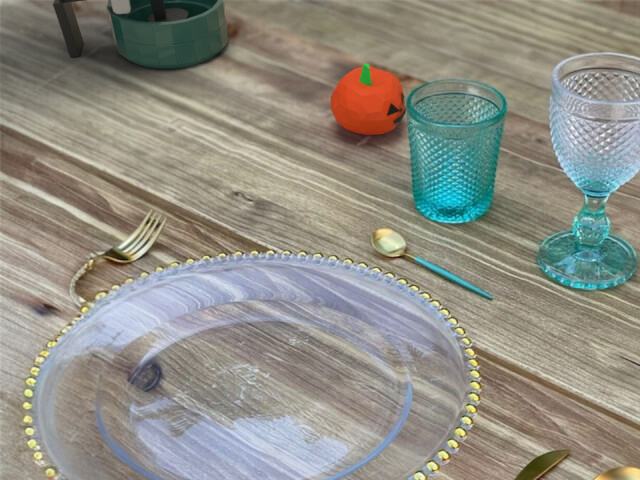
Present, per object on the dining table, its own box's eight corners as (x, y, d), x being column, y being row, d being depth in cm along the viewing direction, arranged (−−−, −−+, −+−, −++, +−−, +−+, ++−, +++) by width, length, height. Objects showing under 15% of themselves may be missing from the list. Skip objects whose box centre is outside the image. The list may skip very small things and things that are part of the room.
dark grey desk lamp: (194, 28, 104) (180, -33, 99) (192, 45, 101) (178, -17, 96) (75, 41, 104) (55, -19, 99) (69, 59, 101) (49, -2, 96)
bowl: (111, 73, 98) (100, 27, 95) (123, 24, 107) (113, -20, 103) (227, 68, 99) (221, 21, 96) (230, 19, 108) (224, -25, 104)
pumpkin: (400, 104, 94) (400, 41, 89) (410, 145, 88) (411, 80, 83) (329, 108, 93) (325, 45, 88) (334, 150, 87) (330, 85, 83)
